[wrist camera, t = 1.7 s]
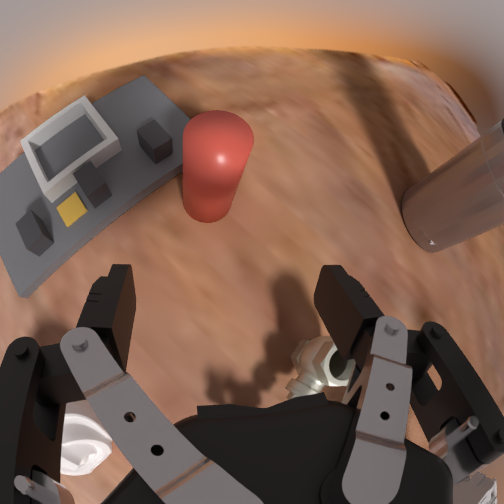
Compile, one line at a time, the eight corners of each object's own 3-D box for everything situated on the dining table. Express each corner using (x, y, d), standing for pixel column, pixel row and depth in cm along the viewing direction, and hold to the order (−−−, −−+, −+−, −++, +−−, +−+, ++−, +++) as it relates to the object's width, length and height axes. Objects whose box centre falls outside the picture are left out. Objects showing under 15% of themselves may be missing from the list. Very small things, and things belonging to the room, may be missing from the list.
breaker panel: (144, 83, 29) (142, 60, 25) (213, 151, 28) (217, 127, 24) (-14, 199, 21) (-31, 184, 17) (27, 298, 20) (5, 292, 17)
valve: (293, 319, 26) (217, 424, 22) (326, 315, 19) (226, 454, 15) (344, 356, 26) (275, 456, 22) (385, 360, 20) (299, 487, 16)
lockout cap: (210, 170, 28) (223, 101, 18) (241, 203, 27) (267, 142, 18) (173, 196, 26) (169, 130, 17) (203, 232, 26) (213, 178, 16)
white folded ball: (90, 469, 17) (64, 507, 10) (33, 412, 18) (-8, 432, 10) (136, 424, 20) (116, 459, 13) (74, 363, 20) (33, 374, 13)
